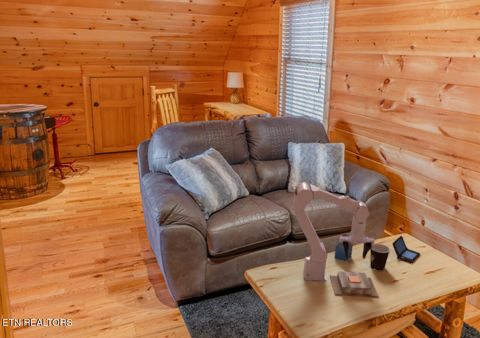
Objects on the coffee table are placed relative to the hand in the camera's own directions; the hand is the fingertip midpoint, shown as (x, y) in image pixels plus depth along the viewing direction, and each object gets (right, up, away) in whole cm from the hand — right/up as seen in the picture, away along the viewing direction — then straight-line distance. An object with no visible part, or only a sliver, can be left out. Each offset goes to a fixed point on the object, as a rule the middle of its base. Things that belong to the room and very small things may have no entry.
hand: (354, 257), depth 180 cm
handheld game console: (+32, -5, +24) cm, 40 cm away
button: (-2, -11, -4) cm, 12 cm away
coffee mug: (+14, -7, +14) cm, 21 cm away
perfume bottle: (0, -5, +20) cm, 21 cm away
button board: (-2, -12, -3) cm, 13 cm away
